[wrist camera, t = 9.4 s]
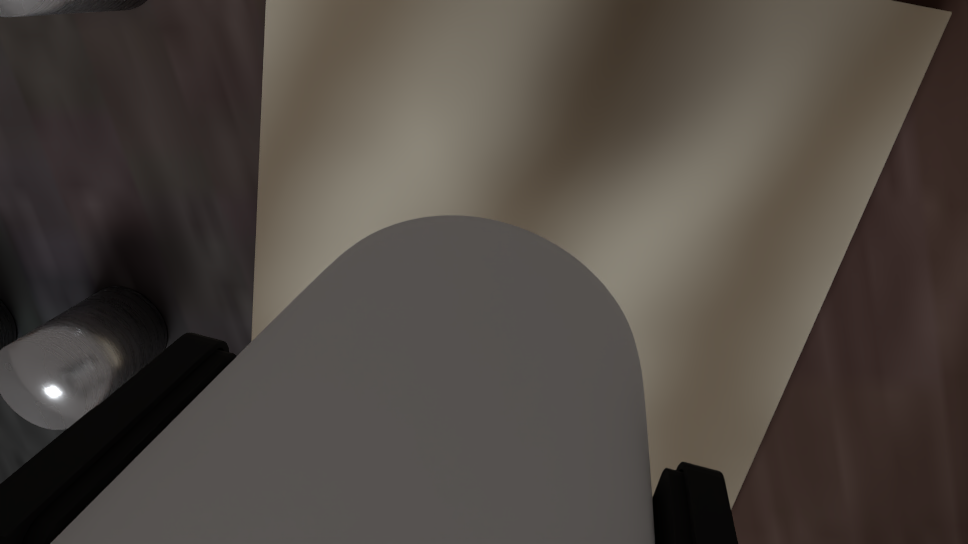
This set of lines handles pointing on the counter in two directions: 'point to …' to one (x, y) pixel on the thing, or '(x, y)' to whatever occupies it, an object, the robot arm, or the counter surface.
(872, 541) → the counter surface
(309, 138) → the board
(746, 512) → the counter surface
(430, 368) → the can
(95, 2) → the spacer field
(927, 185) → the counter surface
